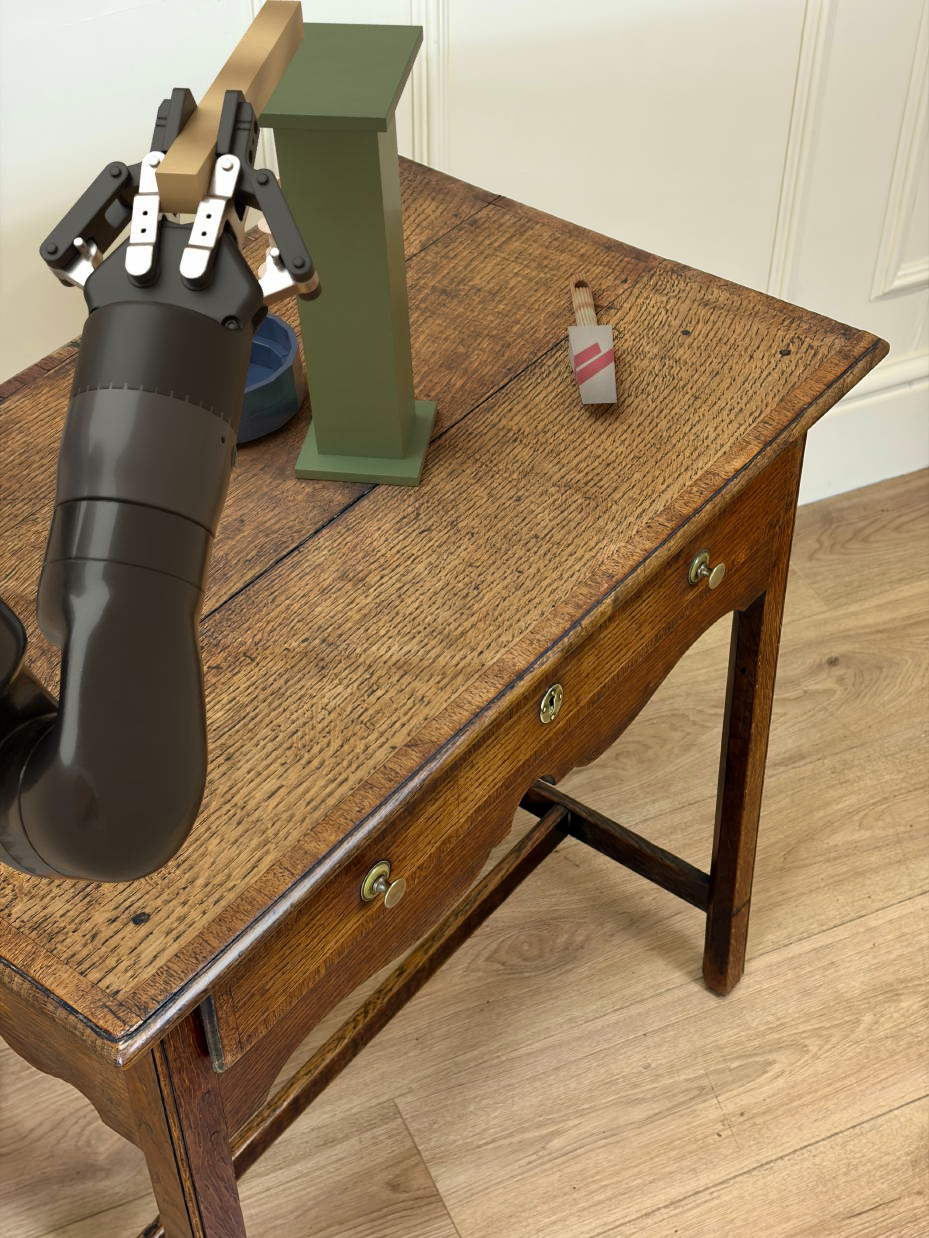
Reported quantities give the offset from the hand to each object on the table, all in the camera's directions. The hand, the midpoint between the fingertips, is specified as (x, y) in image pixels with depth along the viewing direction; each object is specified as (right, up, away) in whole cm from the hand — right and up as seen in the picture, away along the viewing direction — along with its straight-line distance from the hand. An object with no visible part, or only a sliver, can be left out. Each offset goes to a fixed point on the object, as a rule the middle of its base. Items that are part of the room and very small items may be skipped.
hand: (212, 100), depth 63 cm
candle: (-5, +8, +63) cm, 64 cm away
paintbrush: (+23, -1, +53) cm, 57 cm away
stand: (+4, -11, +44) cm, 46 cm away
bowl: (-8, -7, +48) cm, 49 cm away
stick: (+1, +1, +4) cm, 5 cm away
